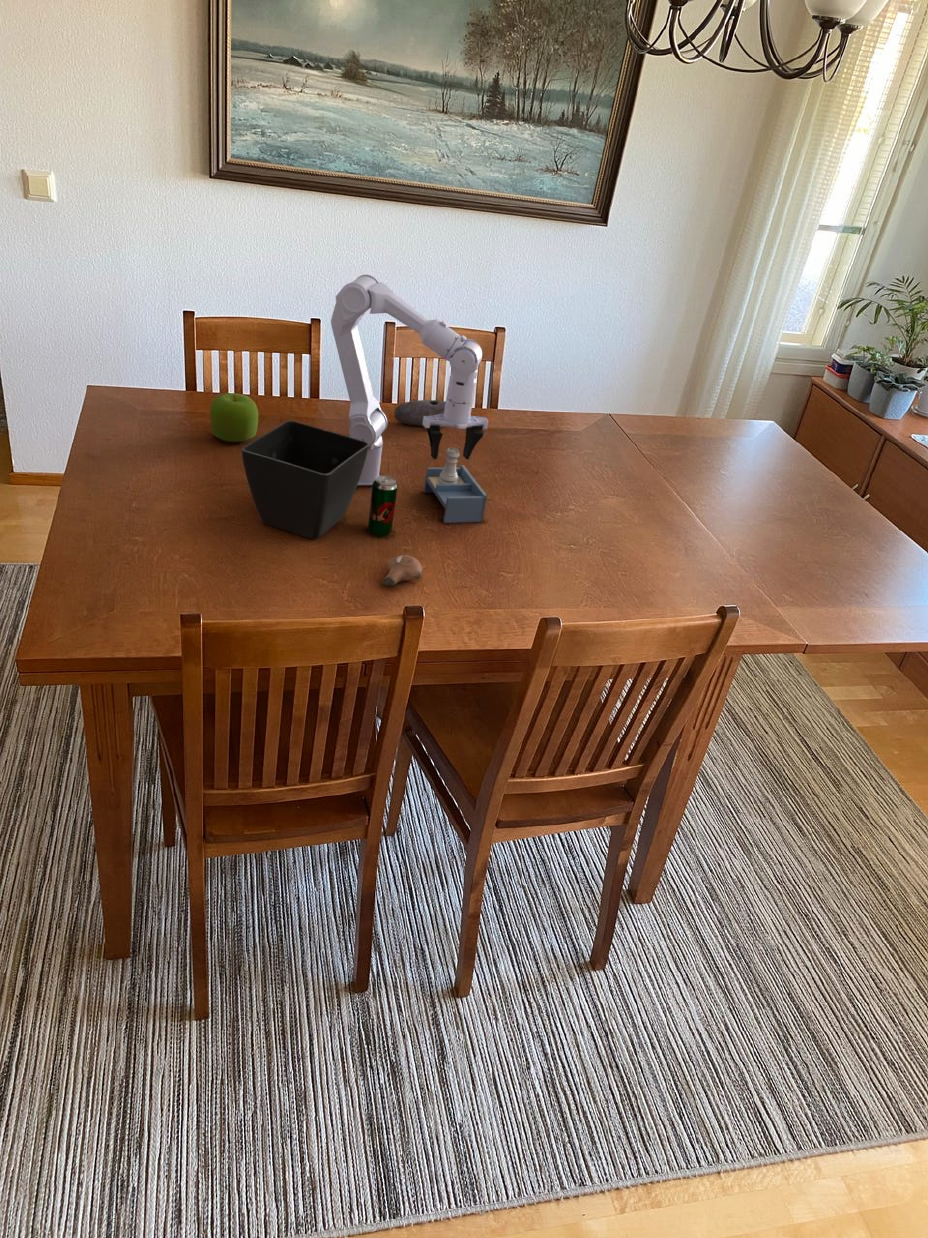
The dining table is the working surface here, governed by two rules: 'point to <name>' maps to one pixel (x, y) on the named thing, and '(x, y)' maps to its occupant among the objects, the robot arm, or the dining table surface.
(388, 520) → the soda can
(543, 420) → the dining table surface
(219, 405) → the apple
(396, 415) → the perforated stone tool
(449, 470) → the rook chess piece
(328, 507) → the flower pot
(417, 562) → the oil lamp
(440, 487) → the blue open tray
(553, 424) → the dining table surface
